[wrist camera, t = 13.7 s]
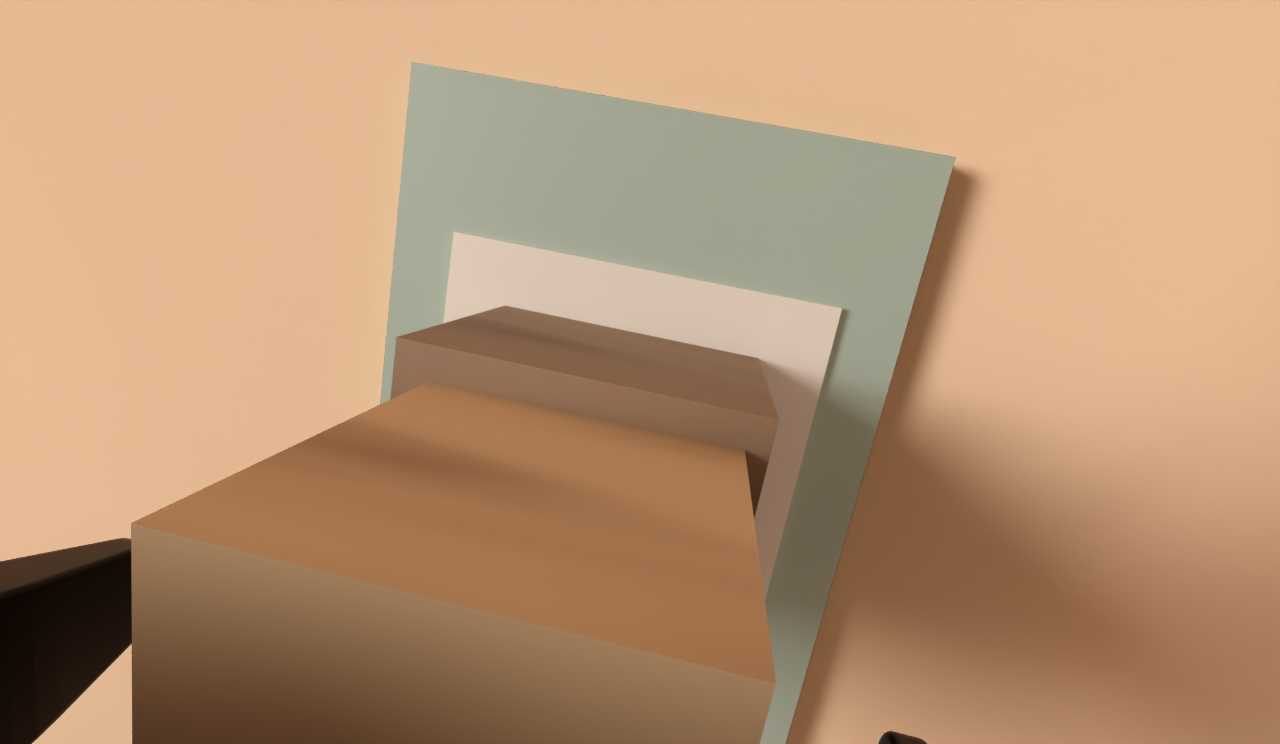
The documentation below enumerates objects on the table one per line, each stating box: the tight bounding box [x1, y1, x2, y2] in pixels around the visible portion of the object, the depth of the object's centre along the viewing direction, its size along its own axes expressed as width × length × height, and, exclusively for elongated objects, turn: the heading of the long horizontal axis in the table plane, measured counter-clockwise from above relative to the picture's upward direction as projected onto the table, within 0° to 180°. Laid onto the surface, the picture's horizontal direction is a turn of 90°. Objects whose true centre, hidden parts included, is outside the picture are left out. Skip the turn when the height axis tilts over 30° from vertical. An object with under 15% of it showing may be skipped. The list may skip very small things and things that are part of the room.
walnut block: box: [390, 306, 779, 518], centre depth 12 cm, size 6×6×5 cm
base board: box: [380, 62, 956, 744], centre depth 15 cm, size 16×12×1 cm
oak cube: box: [131, 381, 776, 744], centre depth 7 cm, size 5×5×5 cm
